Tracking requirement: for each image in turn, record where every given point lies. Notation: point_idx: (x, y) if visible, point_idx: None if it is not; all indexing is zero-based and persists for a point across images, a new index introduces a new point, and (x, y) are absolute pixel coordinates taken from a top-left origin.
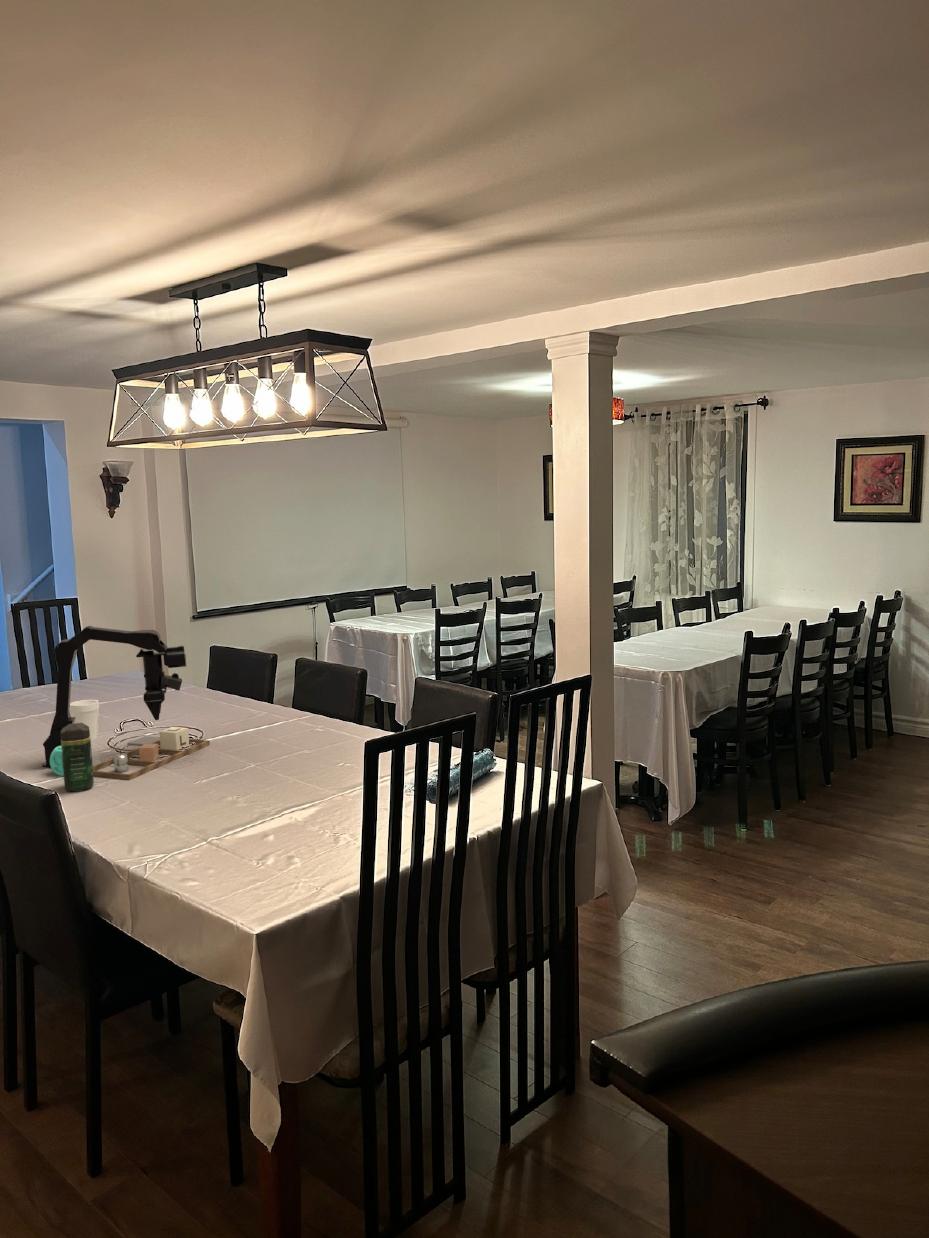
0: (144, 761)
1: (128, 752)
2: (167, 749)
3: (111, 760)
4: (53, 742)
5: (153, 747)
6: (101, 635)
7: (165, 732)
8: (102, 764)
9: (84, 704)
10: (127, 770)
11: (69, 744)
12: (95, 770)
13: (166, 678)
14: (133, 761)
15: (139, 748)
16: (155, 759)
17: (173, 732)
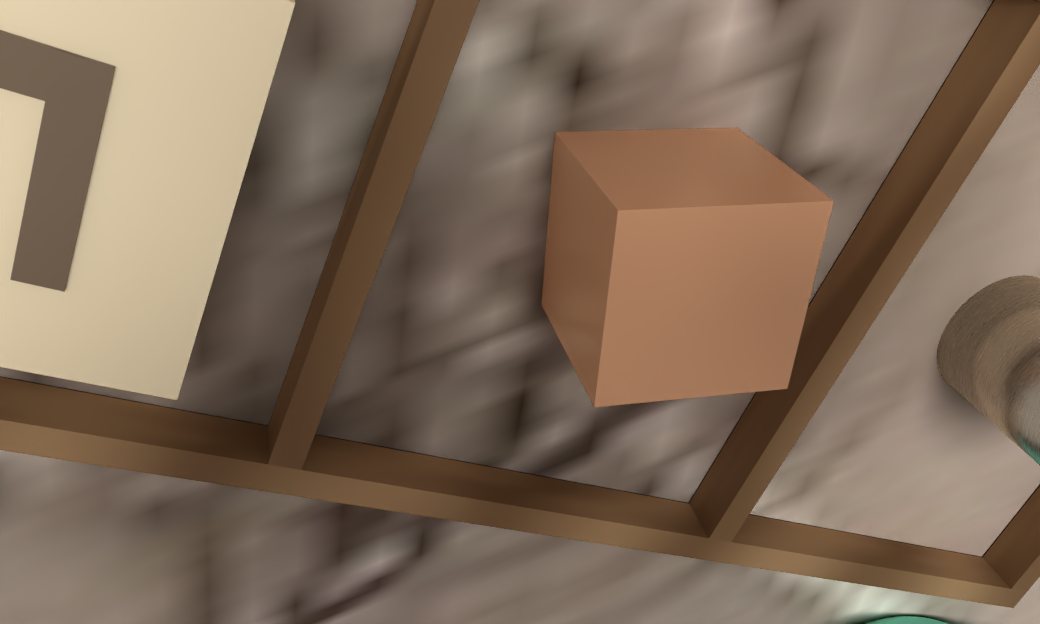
0: (959, 184)
1: (506, 518)
2: (420, 72)
3: (761, 541)
4: None
5: (815, 200)
6: None
7: (213, 265)
8: (855, 555)
9: None
10: (1034, 279)
11: None
12: (909, 546)
13: None
14: (863, 322)
15: (784, 378)
16: (688, 130)
17: (248, 74)
